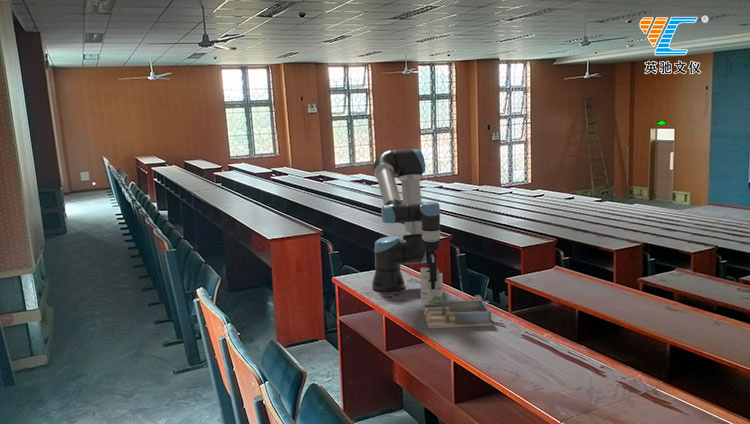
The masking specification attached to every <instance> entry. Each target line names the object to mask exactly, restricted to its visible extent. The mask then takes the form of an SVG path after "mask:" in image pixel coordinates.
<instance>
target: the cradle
mask: <svg viewBox="0 0 750 424" xmlns="http://www.w3.org/2000/svg"><path fill="white" fill-rule="evenodd" d="M422 311H423V316H424V318H425V320H426V325H427V328H428V329H444V328H445V329H449V328H470V327H474V328H475V327H490V326H491V327H492V326H493V321H491V322H489V323H467V324H455V313H463V312H482V311H481V310H476V311H453V312H450V311H449V306H436V307H434V306H433V307H422Z"/></svg>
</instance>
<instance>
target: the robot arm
mask: <svg viewBox="0 0 750 424" xmlns="http://www.w3.org/2000/svg"><path fill="white" fill-rule="evenodd" d="M372 172H373V175H374V178H375V179H376V180H377V183H378V187H379V190H380V194H381V198H382V202H383V206H381V212H380V215H381V221H382V223H384V224H397V223H398V224H399V223H400V224H401V223H404V228H405V232H404V233H403V234H402V239H401V238H400V237H399V236H396V235H394V236H392V235H391V236H385V237H381V238H379V239H377V240H375V242H374V249H373V252H374V268H375V272H374V275H373V279H372V283H371V287H372V289H373V290H375V291H377V292H378V291H379V292H387V293H388V292H396V291H397V292H398V291H401V290H403V289H404V288H405V286H406V285H405V280H404V278H403V277H404V276H403V273H402V271H401V265H413V264H414V265H415V264H419V265H420V264H425V263H426V268H429V271H427V272H429V274H430V280H428V282H429V294H430V297H436V281H437V275H436V269H437V253H436V251H439V250H440V249H441V219H440V218H441V210H440V209H441V208H440V203H439V202H437V201H422V196H421V192H422V191H421V185H420V184H421V183H420V181H421V179H422V178H423V174H424V173H425V172H426V161H425V157H424V154H423V153H422V151H421V150H419V149H416V148H415V149H413V148H410V149H406V148H405V149H393V150H392V149H388V150H386V151H384V152H382V153H380V154H379V155H378V156H377V158H376V159H375V160H374V162H373V167H372ZM395 175H396V176H397V179H398V180H399V181H400V183H401V191H402V200H401V196H400V193H399V189H398V186H397V181H396V179H395ZM433 278H434V279H433Z"/></svg>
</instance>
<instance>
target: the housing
mask: <svg viewBox="0 0 750 424" xmlns="http://www.w3.org/2000/svg"><path fill="white" fill-rule="evenodd" d="M448 304H449V305H448V307H449V311H450V312H453V311H476V310H481V311H482V312H463V313H455V324H467V323H489V322H492V311H491V310H490V308H489V307H488V305H487V304H486V302H485V301H484V299H483V298H482V296H481V295H480V294H477V295H474V299H472V300H471V299H469V300H449V301H448Z"/></svg>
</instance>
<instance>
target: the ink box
mask: <svg viewBox="0 0 750 424" xmlns="http://www.w3.org/2000/svg"><path fill="white" fill-rule="evenodd" d="M427 271H429V268H427V267H420V274H419V278H420V282H419V284H420V301H421V302H426V303H436V304H441V302H443V300H444V281H443V279H444V278H443V272H440V269H439V268H436V275H437V281H436V297H430V294H429V282H428V280H430V274H429V272H427ZM433 279H434V278H433Z"/></svg>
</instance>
